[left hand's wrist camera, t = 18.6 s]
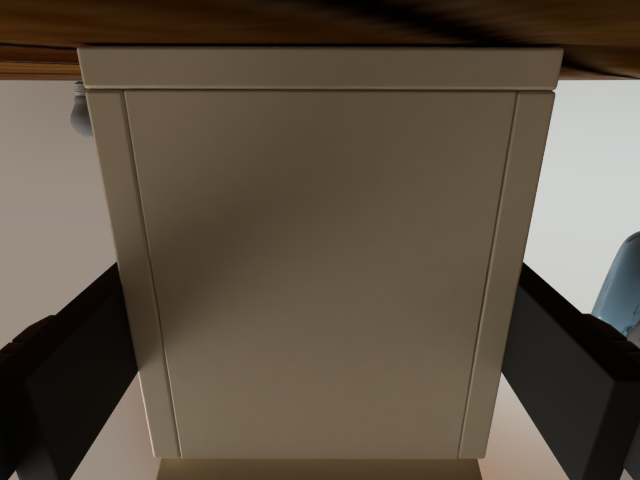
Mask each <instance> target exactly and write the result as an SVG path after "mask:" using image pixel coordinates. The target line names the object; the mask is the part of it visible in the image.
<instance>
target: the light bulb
mask: <svg viewBox="0 0 640 480" xmlns="http://www.w3.org/2000/svg"><path fill="white" fill-rule="evenodd" d="M74 85H75V90H76V91H75V93H76V96H75V105H74V108H73V111H72V114H71V124H72V126H73V128H74V129H75V130H76V131H77V132H78V133H79V134H81V135H83V136H85V137H90V138H93V132H92V126H91V121H90V116H89V110H88V105H87V100H86V91H87V90H89V89H87V88H85V86H84V84H83V81H78V82H76V83H75V84H74Z"/></svg>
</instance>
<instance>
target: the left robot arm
mask: <svg viewBox="0 0 640 480" xmlns="http://www.w3.org/2000/svg"><path fill="white" fill-rule="evenodd" d="M501 372H502V373H503V375H504V376H505V378H506V380H507V381H508V383H509V384H510V386H511V388H512V389H513V391H514V392H515V394H516V395H517V397H518V399H519V400H520V402H521V403H522V405H523V407H524V408H525V410H526V411H527V413H528V415H529V416H530V418H531V419H532V421H533V422H534V424H535V426H536V427H537V429H538V430H539V432H540V434H541V435H542V437H543V438H544V440H545V441H546V443H547V445H548V446H549V448H550V449H551V451H552V452H553V454H554V456H555V457H556V459H557V460H558V462H559V464H560V465H561V467H562V468H563V470H564V472H565V473H566V475H567V476H568V478H569V479H570V480H640V231H639V232H637V233H634V234H633V235H631V236H630V237H628V238H627V239H626V240H625V241H624V243H623V244H622V246H621V247H620V249H619V251H618V253H617V255H616V257H615V259H614V261H613V263H612V265H611V267H610V269H609V272H608V274H607V276H606V278H605V281H604V283H603V285H602V288H601V290H600V293H599V295H598V298H597V300H596V302H595V305H594V307H593V310H592V313H591V314H582V313H581V312H580V311H579V310H577V309H576V308H575V307H574V306H573V305H572V304H571V303H569V302H568V301H567V300H566V299H565V298H564V297H563V296H561V295H560V294H559V293H558V292H557V291H556V290H555V289H553V288H552V287H551V286H550V285H549V284H548V283H547V282H545V281H544V280H543V279H542V278H541V277H540V276H539V275H537V274H536V273H535V272H534V271H533V270H532V269H531V268H529V267H528V266H527V265H526V264H525V263H524V262H523V264H522V269H521V274H520V279H519V284H518V288H517V294H516V299H515V304H514V309H513V314H512V320H511V325H510V330H509V335H508V340H507V346H506V351H505V356H504V361H503V366H502V371H501ZM137 373H138V370H137V364H136V359H135V354H134V349H133V343H132V338H131V333H130V328H129V323H128V317H127V312H126V307H125V301H124V296H123V291H122V286H121V280H120V275H119V270H118V264H117V262H116V263H115V264H113V265H112V266H111V267H110V268H109V269H108V270H107V271H105V272H104V273H103V274H102V275H101V276H100V277H99V278H97V279H96V280H95V281H94V282H93V283H92V284H91V285H89V286H88V287H87V288H86V289H85V290H84V291H83V292H81V293H80V294H79V295H78V296H77V297H76V298H75V299H73V300H72V301H71V302H70V303H69V304H68V305H67V306H65V307H64V308H63V309H62V310H61V311H60V312H59V313H57V314H56V315H49V316H48V317H46V318H44V319H42V320H40V321H38V322H36V323H34V324H32V325H30V326H29V327H27V328H26V329H25V330H24V331H22V332H21V333H20V334H19V335H18V336H16V337H15V338H14V339H13V340H12V343H8V344H7V345H6V346H4V347H3V348H2V349H1V350H0V480H8V479H9V478H10V477H11V475H12V474H13V473H14V472H15V470H16V472H17V475H18V477H19V480H70V479H71V477H72V475H73V474H74V472H75V471H76V469H77V468H78V466H79V464H80V463H81V461H82V460H83V458H84V456H85V455H86V453H87V452H88V450H89V449H90V447H91V445H92V444H93V442H94V441H95V439H96V437H97V436H98V434H99V433H100V431H101V430H102V428H103V426H104V425H105V423H106V422H107V420H108V418H109V417H110V415H111V414H112V412H113V411H114V409H115V407H116V406H117V404H118V403H119V401H120V399H121V398H122V396H123V395H124V393H125V391H126V390H127V388H128V387H129V385H130V384H131V382H132V380H133V379H134V377H135V376H136V374H137Z"/></svg>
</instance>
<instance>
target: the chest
mask: <svg viewBox="0 0 640 480" xmlns="http://www.w3.org/2000/svg"><path fill="white" fill-rule="evenodd" d="M77 52H78V58H79V63H80V68H81V73H82V79H83V84H84V86H85V88H87V89H89V90H87V91H86V100H87V105H88V110H89V116H90V121H91V126H92V132H93V137H94V142H95V147H96V153H97V158H98V163H99V169H100V174H101V179H102V185H103V190H104V195H105V201H106V206H107V211H108V216H109V222H110V227H111V232H112V238H113V243H114V248H115V254H116V259H117V264H118V270H119V275H120V280H121V286H122V291H123V296H124V301H125V307H126V312H127V317H128V323H129V328H130V333H131V338H132V343H133V349H134V354H135V359H136V364H137V370H138V376H139V381H140V386H141V392H142V397H143V402H144V408H145V413H146V418H147V423H148V429H149V434H150V439H151V444H152V450H153V455H154V457H155V458H179V457H180V456H181V458H183V459H457V456H458V458H460V459H483V458H484V457H485V454H486V448H487V443H488V438H489V433H490V427H491V423H492V417H493V412H494V407H495V402H496V397H497V392H498V387H499V382H500V376H501V371H502V366H503V361H504V356H505V351H506V346H507V340H508V335H509V330H510V325H511V320H512V314H513V309H514V304H515V299H516V294H517V288H518V284H519V279H520V274H521V269H522V264H523V259H524V253H525V248H526V243H527V238H528V233H529V228H530V223H531V217H532V212H533V207H534V202H535V197H536V192H537V187H538V181H539V176H540V171H541V166H542V161H543V156H544V151H545V146H546V140H547V135H548V130H549V125H550V120H551V114H552V110H553V105H554V99H555V93H554V92H553V91H552V90H554V89H556V87H557V83H558V78H559V73H560V68H561V63H562V58H563V53H564V51H563V49H562V48H560V47H391V46H93V45H81V46H79V47H78V48H77Z"/></svg>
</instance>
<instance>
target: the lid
mask: <svg viewBox="0 0 640 480" xmlns="http://www.w3.org/2000/svg"><path fill="white" fill-rule="evenodd" d="M156 480H482V477H481V472H480V468H479V464H478V460H477V459H460V458H458V456H457V459H183V458H181V456H180V457H179V458H161V461H160V465H159V469H158V473H157V477H156Z"/></svg>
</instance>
